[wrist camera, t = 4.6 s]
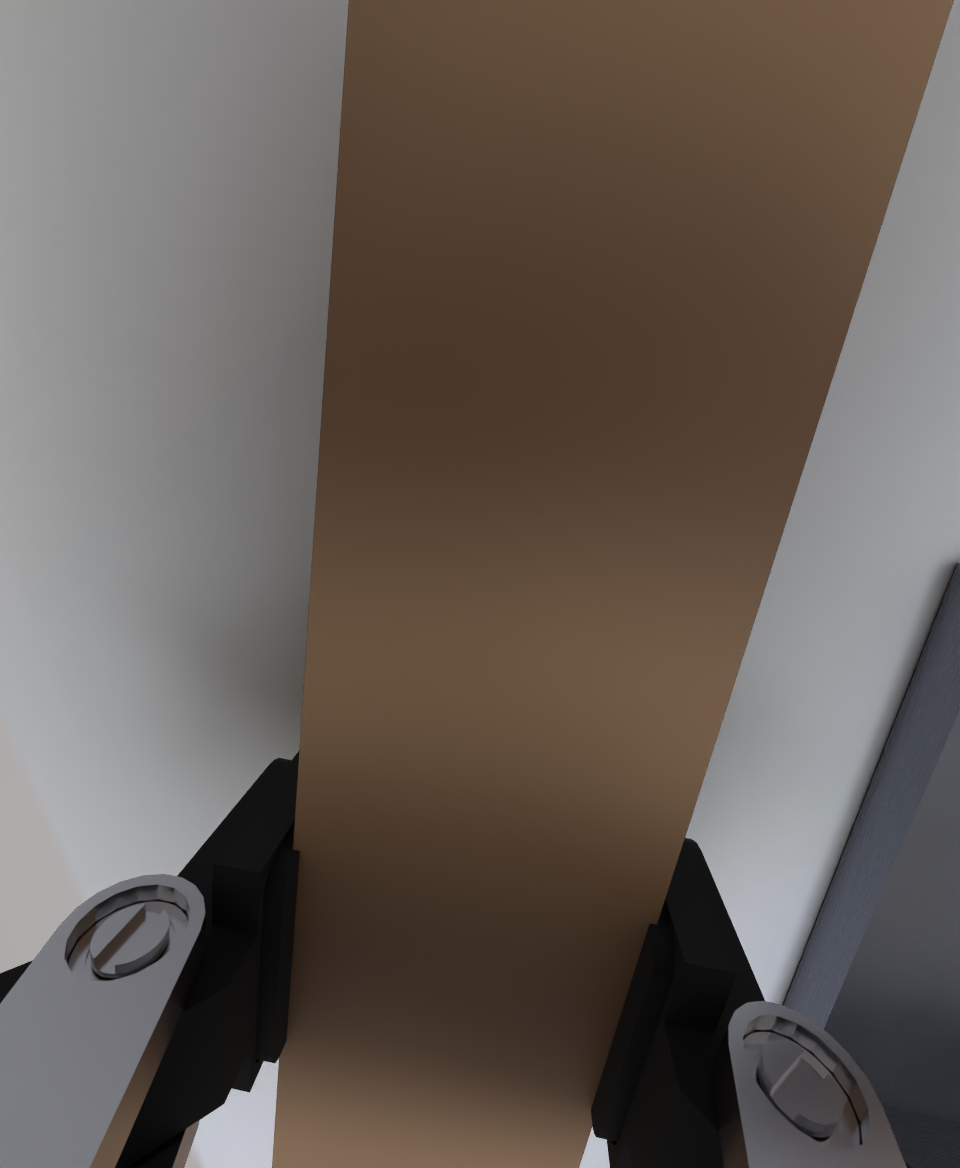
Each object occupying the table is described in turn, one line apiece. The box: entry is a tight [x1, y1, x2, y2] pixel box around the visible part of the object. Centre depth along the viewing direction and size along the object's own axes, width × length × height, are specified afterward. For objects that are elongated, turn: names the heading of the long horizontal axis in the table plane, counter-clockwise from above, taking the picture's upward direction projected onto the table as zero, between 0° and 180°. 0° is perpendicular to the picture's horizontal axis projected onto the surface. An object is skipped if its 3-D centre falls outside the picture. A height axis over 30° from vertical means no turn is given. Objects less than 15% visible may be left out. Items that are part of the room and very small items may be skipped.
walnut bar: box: [272, 0, 954, 1168], centre depth 8 cm, size 24×4×4 cm, turn 171°
